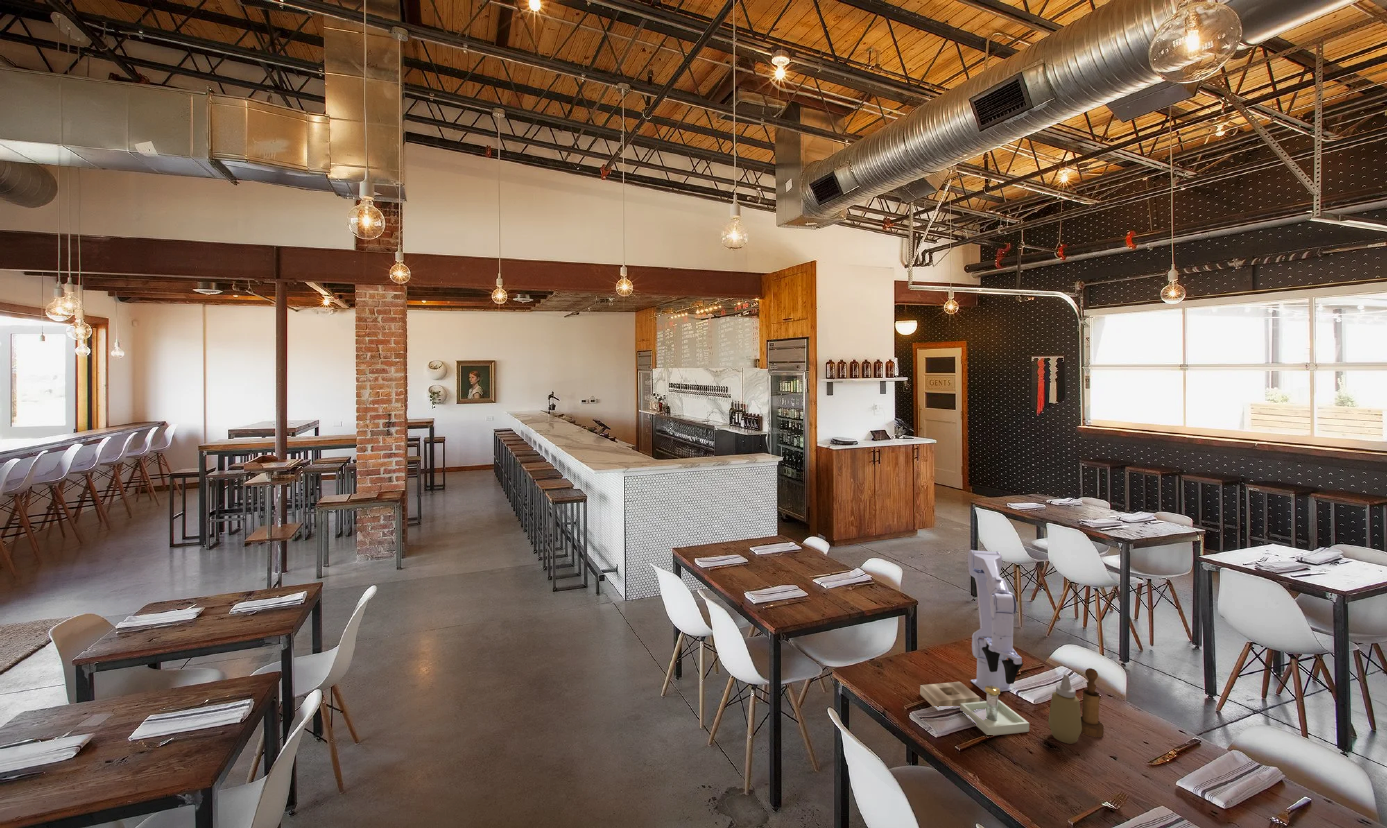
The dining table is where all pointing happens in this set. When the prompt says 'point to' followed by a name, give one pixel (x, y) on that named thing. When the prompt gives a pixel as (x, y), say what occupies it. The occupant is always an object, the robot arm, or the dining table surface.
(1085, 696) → the wooden pepper mill
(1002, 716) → the tray
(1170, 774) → the dining table surface
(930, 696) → the hitch block
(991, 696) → the pin
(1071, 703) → the squeeze bottle
